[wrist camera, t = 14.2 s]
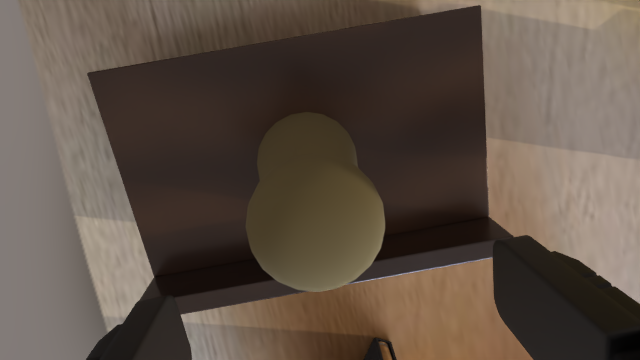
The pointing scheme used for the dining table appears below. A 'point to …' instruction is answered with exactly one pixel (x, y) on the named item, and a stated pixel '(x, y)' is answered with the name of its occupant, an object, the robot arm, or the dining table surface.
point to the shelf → (291, 98)
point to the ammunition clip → (380, 350)
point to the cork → (313, 206)
